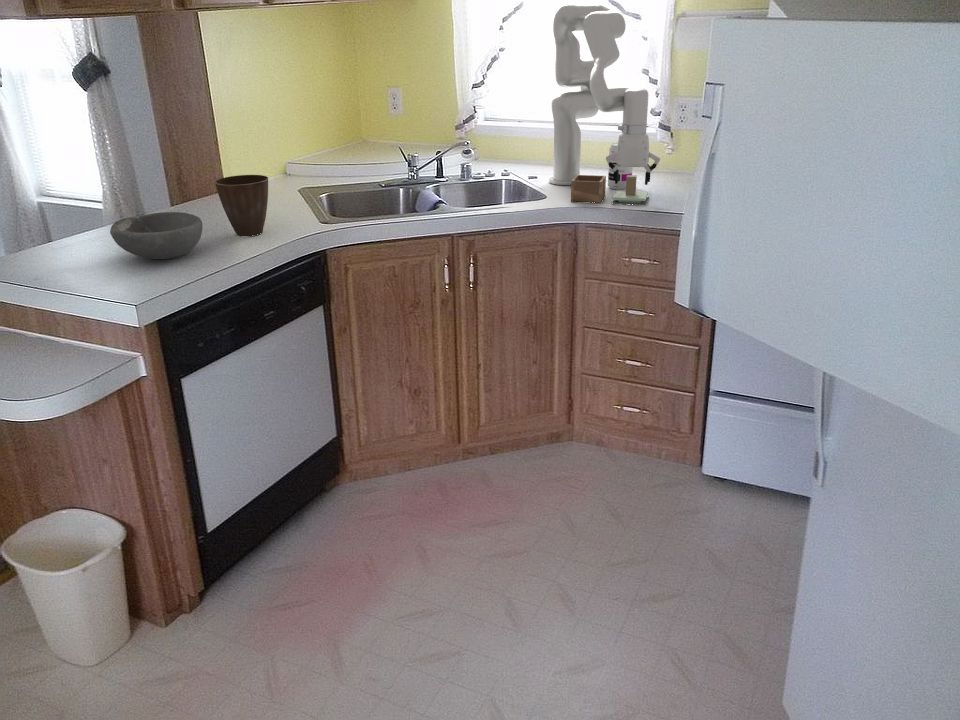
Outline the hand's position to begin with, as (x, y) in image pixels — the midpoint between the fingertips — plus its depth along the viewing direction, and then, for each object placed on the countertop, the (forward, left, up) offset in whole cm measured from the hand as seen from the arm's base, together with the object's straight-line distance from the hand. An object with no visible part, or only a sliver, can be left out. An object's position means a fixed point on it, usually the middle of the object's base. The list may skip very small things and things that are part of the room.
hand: (631, 183), depth 266 cm
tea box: (0, -14, -6) cm, 15 cm away
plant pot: (+62, -105, -6) cm, 122 cm away
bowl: (+88, -116, -6) cm, 146 cm away
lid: (0, 0, -5) cm, 5 cm away
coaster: (0, 0, -6) cm, 6 cm away
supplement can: (-20, -6, -6) cm, 22 cm away
